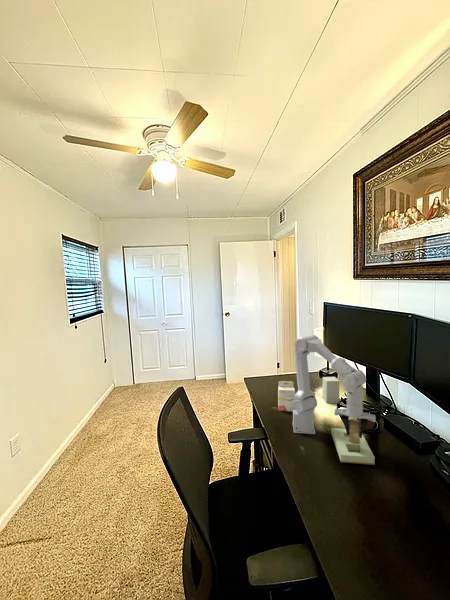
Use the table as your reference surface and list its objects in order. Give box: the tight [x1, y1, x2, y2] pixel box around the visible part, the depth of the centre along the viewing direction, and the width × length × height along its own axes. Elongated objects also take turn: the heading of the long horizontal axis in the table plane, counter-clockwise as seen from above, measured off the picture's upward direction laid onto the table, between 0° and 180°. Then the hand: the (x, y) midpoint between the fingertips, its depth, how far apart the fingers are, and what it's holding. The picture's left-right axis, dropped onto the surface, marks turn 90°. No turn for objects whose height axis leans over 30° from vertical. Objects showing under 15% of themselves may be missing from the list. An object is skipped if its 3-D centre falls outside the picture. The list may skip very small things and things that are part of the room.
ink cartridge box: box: [277, 380, 296, 412], centre depth 158 cm, size 9×5×15 cm, turn 84°
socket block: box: [330, 427, 376, 466], centre depth 122 cm, size 12×20×3 cm, turn 170°
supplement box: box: [322, 376, 340, 404], centre depth 168 cm, size 7×7×13 cm
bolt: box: [356, 418, 375, 430], centre depth 144 cm, size 6×5×15 cm
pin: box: [349, 418, 360, 444], centre depth 117 cm, size 4×4×8 cm
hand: (354, 435), depth 117 cm, fingers closed on pin, 4 cm apart
